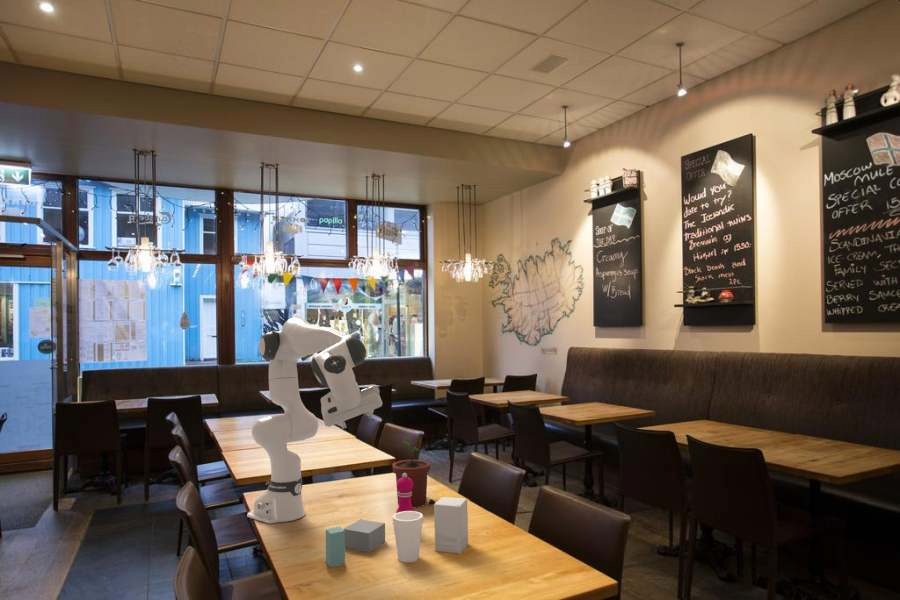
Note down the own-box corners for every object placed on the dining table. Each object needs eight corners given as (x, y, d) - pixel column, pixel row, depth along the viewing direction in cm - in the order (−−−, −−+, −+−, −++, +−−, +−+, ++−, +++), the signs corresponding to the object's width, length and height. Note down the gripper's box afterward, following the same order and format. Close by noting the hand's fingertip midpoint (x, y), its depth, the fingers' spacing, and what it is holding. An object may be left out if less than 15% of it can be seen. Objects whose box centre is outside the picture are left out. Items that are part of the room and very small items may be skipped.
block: (331, 567, 169) (330, 533, 170) (325, 562, 173) (325, 529, 173) (345, 563, 172) (344, 530, 172) (339, 558, 175) (339, 526, 176)
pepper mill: (412, 534, 195) (411, 476, 196) (392, 532, 197) (392, 475, 198) (417, 526, 202) (417, 470, 203) (398, 525, 204) (398, 470, 205)
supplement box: (469, 543, 186) (468, 498, 187) (460, 554, 177) (460, 506, 178) (443, 540, 189) (442, 495, 190) (434, 551, 180) (433, 503, 181)
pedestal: (343, 547, 184) (343, 528, 185) (360, 536, 193) (360, 519, 194) (368, 552, 180) (368, 533, 180) (385, 541, 189) (385, 523, 189)
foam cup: (411, 566, 169) (410, 523, 169) (387, 560, 174) (386, 517, 174) (429, 555, 177) (428, 513, 177) (405, 549, 182) (405, 509, 182)
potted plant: (381, 503, 230) (381, 442, 231) (418, 491, 246) (418, 434, 247) (412, 512, 218) (411, 447, 219) (449, 499, 234) (448, 438, 236)
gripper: (375, 378, 188) (383, 404, 197) (315, 400, 184) (327, 425, 193) (380, 391, 183) (388, 417, 192) (319, 414, 179) (330, 439, 188)
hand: (357, 421), depth 192 cm, fingers open, 8 cm apart
